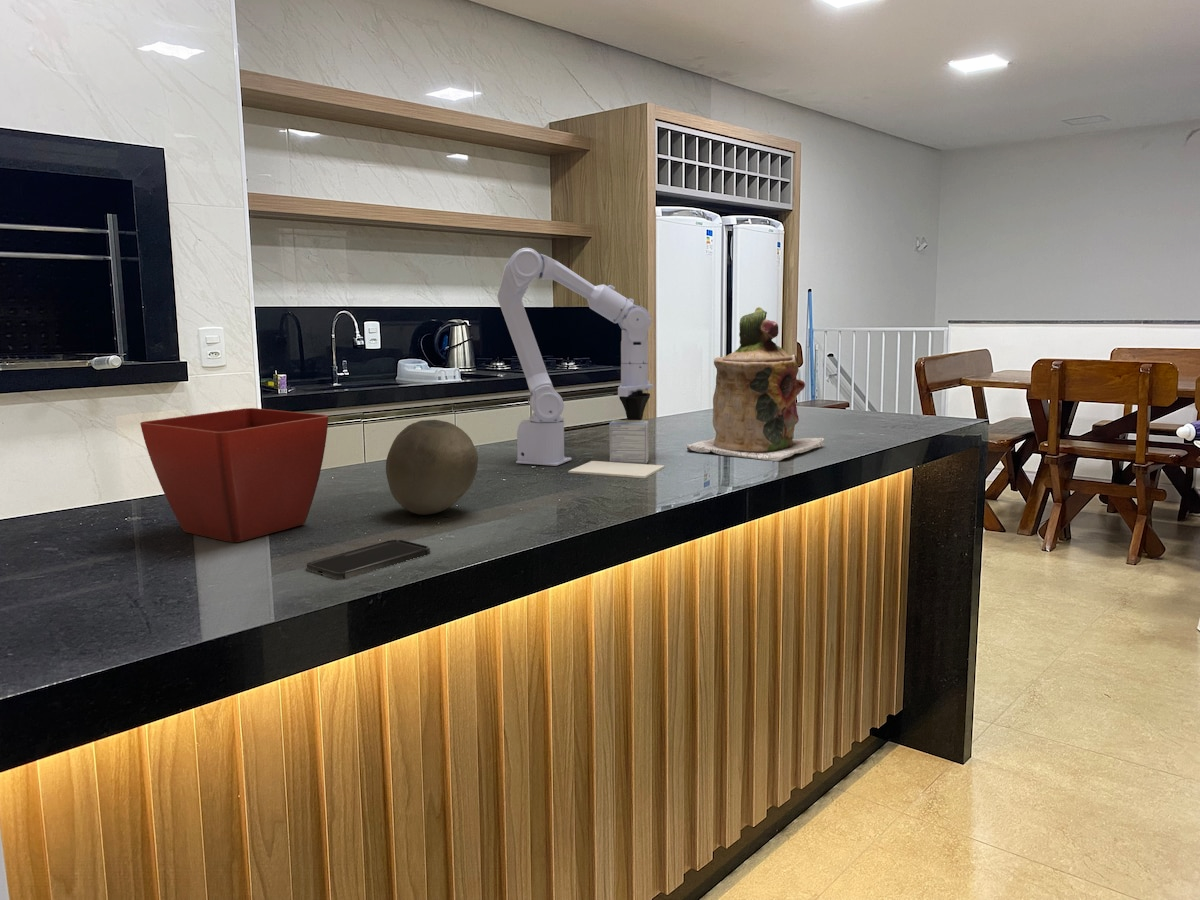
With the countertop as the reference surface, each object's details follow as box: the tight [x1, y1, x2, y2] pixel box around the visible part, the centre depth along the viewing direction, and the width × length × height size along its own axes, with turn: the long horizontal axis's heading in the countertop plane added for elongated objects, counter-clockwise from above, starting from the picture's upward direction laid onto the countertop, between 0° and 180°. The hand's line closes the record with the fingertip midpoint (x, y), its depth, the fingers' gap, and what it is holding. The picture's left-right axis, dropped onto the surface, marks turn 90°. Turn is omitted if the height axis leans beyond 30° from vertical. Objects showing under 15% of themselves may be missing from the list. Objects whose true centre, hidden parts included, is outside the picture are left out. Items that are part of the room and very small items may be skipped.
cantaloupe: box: [385, 419, 479, 516], centre depth 143 cm, size 14×14×15 cm
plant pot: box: [140, 407, 329, 543], centre depth 134 cm, size 19×19×17 cm
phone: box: [306, 539, 431, 580], centre depth 118 cm, size 8×1×15 cm
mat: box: [567, 460, 666, 479], centre depth 180 cm, size 16×12×1 cm
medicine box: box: [608, 419, 650, 464], centre depth 188 cm, size 8×4×9 cm, turn 82°
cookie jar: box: [685, 306, 825, 462], centre depth 201 cm, size 25×25×32 cm
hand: (634, 427), depth 191 cm, fingers closed
